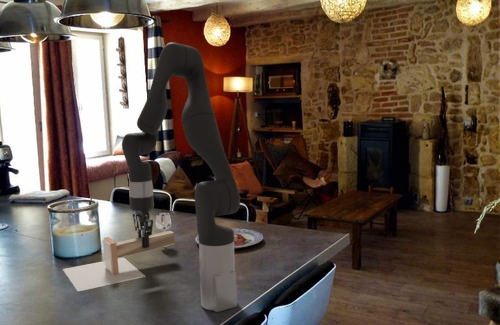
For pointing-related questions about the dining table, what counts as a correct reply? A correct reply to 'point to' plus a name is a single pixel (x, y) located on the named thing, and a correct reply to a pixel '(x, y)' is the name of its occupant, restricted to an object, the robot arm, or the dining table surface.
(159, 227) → the wineglass
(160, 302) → the dining table surface
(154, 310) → the dining table surface
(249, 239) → the ceramic plate
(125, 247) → the oak stick
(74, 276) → the white panel
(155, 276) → the dining table surface
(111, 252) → the tile
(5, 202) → the dining table surface
